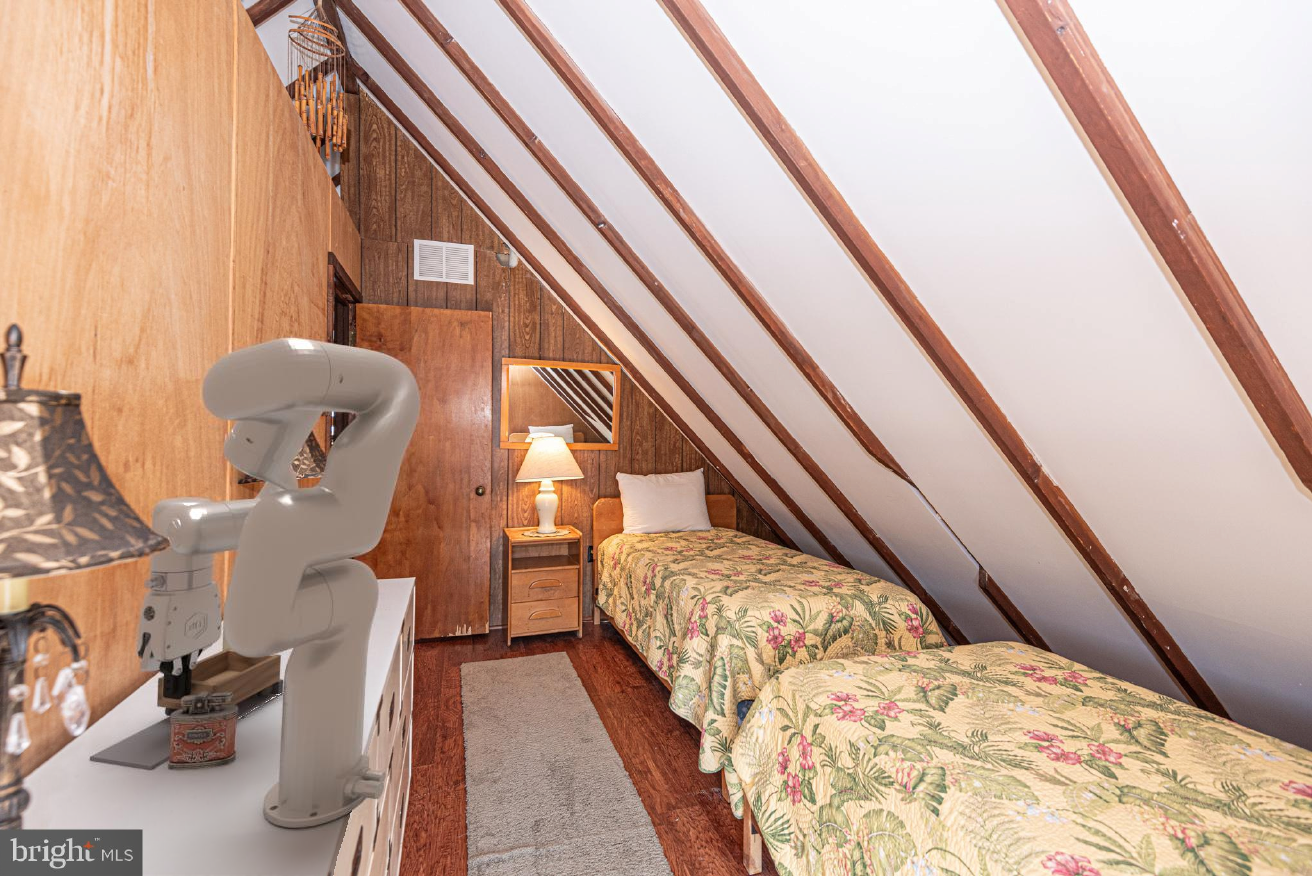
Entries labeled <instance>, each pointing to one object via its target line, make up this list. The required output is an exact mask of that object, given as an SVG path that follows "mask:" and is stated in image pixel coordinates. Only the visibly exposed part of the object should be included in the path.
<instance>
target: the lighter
mask: <svg viewBox="0 0 1312 876" xmlns="http://www.w3.org/2000/svg"><path fill="white" fill-rule="evenodd" d="M232 701H233V693H232V692H224V693H214V694H210V692H208V691H203V692H201V693H200V694H199V695H190V696H184V697H183V698H182V699H181V706H182V709H179V710H177V711H174V712H173V713H171V715H170V716H169V717H170V722H172V725H171V747H170V759H169V760H167V769H168V770H170V771H193V770H194V771H197V770H202V769H203V770H204V769H212V768H216V767H217V768H218V767H224V766H227V765H230V764H231V763H233V762H234V761H235V760H236V759H237V750H236V749H235V748H236V728H237V720H236V715H237V713H238V706H235V705H222V704H228V703H231V702H232ZM214 704H216V705H214ZM190 706H192V707H191V708H190Z"/></svg>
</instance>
